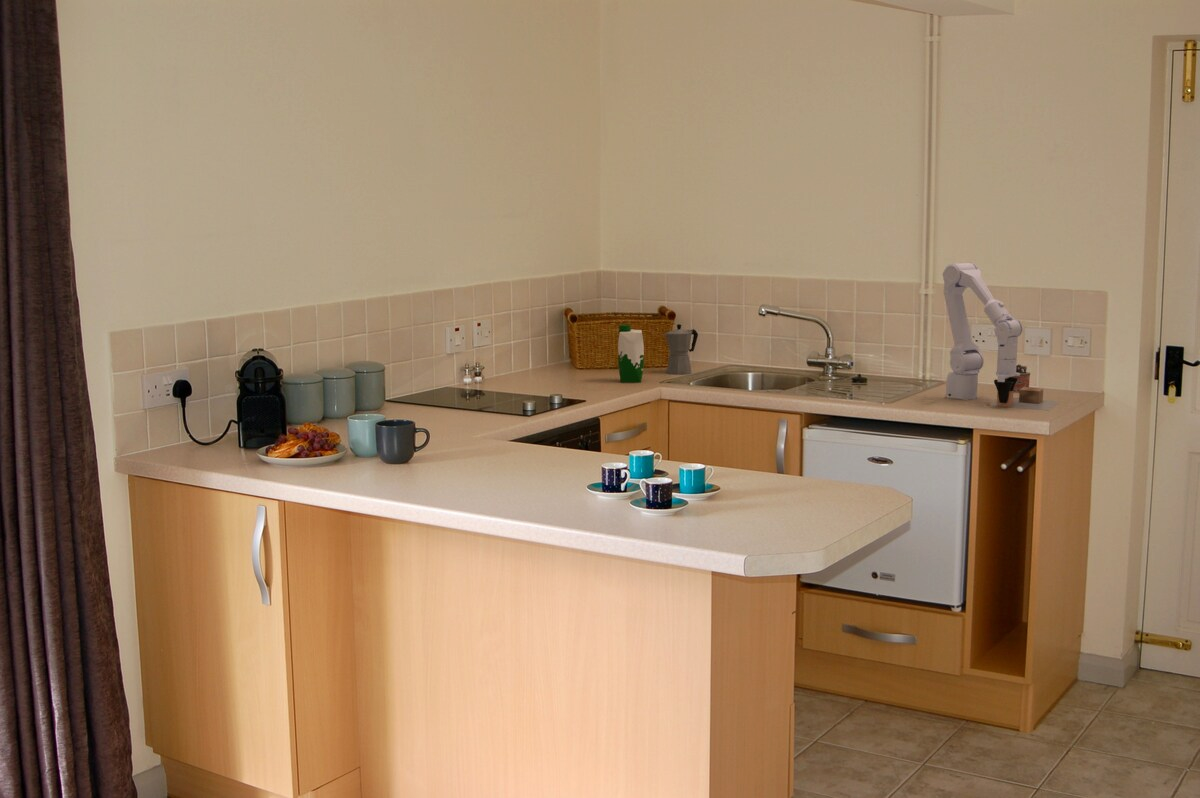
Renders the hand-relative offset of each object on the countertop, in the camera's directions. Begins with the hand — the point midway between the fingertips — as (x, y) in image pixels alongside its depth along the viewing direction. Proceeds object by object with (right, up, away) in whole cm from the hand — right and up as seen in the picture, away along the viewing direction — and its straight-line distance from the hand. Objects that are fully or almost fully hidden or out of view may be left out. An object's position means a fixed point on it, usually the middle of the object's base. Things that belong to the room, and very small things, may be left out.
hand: (1004, 401), depth 399 cm
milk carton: (-115, +7, +56) cm, 128 cm away
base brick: (+10, 0, +5) cm, 11 cm away
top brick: (0, -1, 0) cm, 1 cm away
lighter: (+11, +2, +24) cm, 26 cm away
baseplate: (+7, -2, +2) cm, 7 cm away
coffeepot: (-96, +10, +75) cm, 122 cm away
